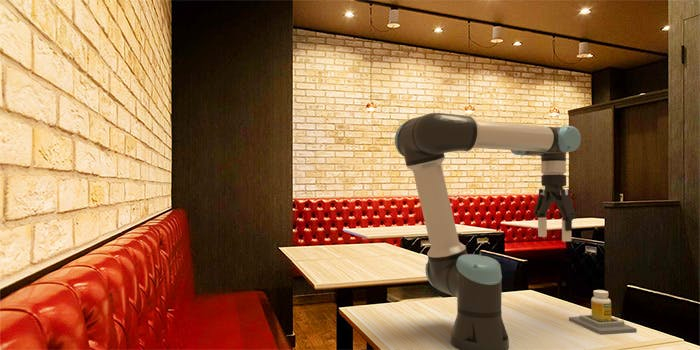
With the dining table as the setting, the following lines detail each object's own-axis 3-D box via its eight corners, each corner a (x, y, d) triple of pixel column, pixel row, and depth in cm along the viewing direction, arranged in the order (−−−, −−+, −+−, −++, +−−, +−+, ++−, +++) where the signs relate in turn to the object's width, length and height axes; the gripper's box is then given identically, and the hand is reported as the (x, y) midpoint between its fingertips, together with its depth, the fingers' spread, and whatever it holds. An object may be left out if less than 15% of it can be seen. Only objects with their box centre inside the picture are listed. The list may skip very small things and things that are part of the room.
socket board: (600, 334, 131) (600, 326, 131) (569, 320, 145) (568, 313, 145) (636, 332, 134) (636, 324, 134) (602, 318, 147) (602, 311, 147)
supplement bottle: (597, 319, 143) (596, 288, 143) (615, 323, 139) (614, 291, 139) (588, 322, 140) (587, 290, 140) (606, 326, 136) (605, 294, 136)
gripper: (589, 173, 138) (589, 243, 138) (543, 175, 163) (543, 234, 162) (566, 173, 137) (566, 243, 137) (523, 175, 162) (523, 234, 161)
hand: (554, 238), depth 149 cm, fingers open, 13 cm apart
